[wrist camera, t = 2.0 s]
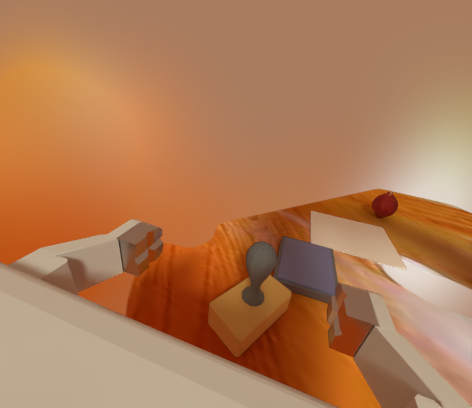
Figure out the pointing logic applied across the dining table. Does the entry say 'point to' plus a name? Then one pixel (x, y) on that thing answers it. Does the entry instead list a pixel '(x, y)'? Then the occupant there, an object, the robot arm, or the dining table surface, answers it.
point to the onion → (385, 205)
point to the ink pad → (306, 269)
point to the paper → (353, 239)
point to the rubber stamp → (250, 302)
